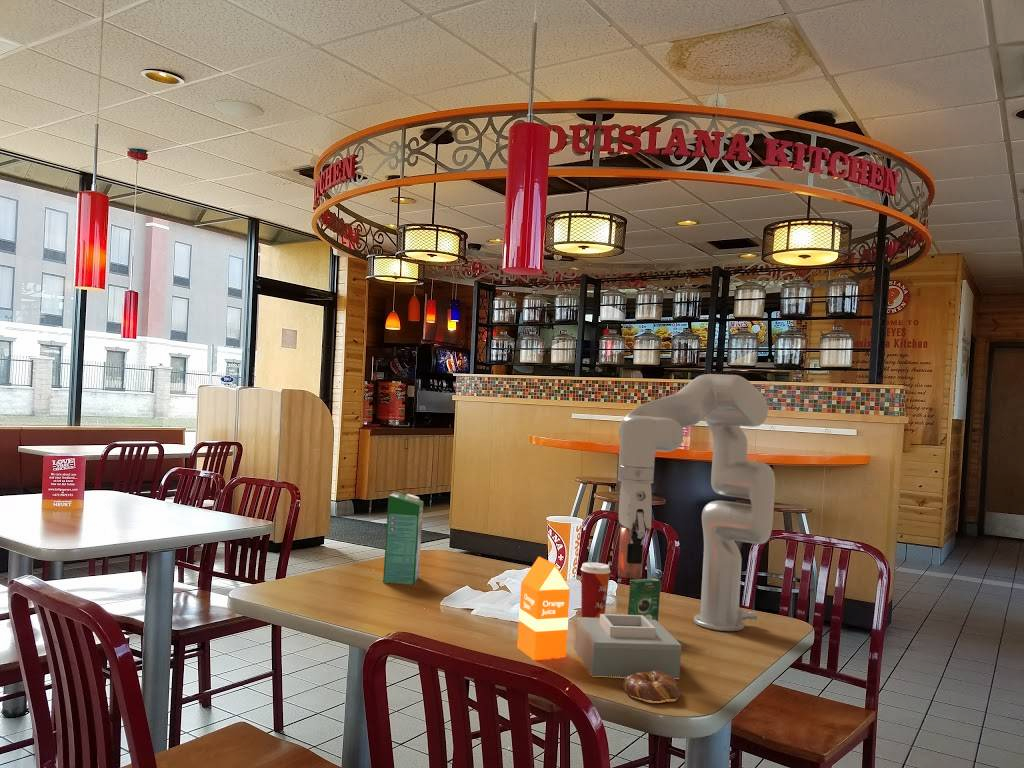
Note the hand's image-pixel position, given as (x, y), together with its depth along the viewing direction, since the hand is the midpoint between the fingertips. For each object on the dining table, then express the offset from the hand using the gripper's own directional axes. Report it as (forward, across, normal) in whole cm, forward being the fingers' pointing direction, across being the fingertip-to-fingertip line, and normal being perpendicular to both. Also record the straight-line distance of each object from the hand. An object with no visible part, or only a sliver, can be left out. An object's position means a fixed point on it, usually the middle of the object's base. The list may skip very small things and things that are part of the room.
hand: (630, 559), depth 168 cm
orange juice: (+22, +6, +17) cm, 29 cm away
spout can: (+3, 0, 0) cm, 3 cm away
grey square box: (+22, 0, 0) cm, 22 cm away
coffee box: (+22, +22, -10) cm, 33 cm away
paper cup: (+22, +32, 0) cm, 39 cm away
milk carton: (+22, +68, +49) cm, 87 cm away
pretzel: (+23, -16, -1) cm, 28 cm away
